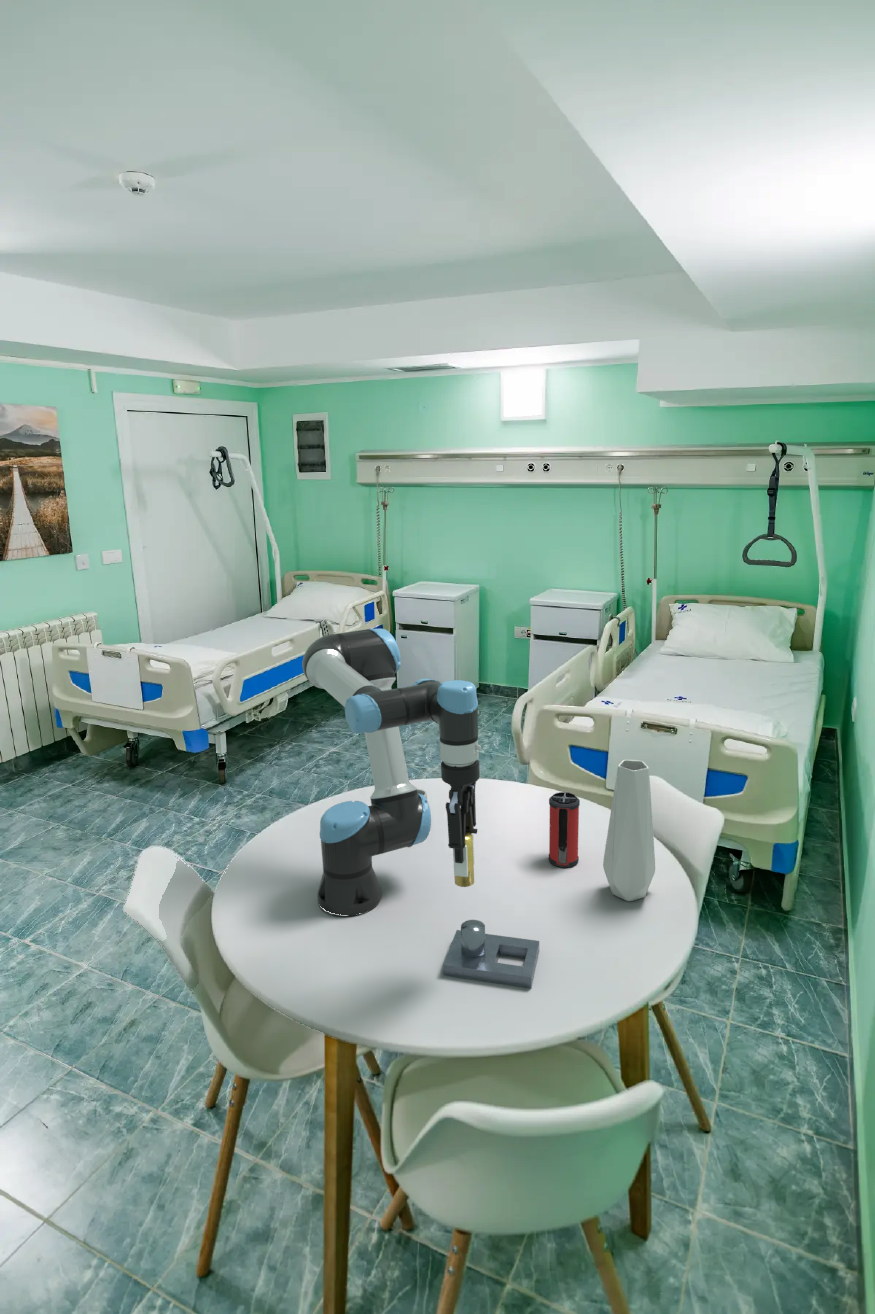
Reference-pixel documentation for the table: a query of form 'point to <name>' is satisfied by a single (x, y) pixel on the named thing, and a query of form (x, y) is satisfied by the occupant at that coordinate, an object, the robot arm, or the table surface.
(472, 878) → the round pin
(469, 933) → the gray peg plate
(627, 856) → the vase
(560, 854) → the speaker
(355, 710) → the robot arm
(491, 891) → the table surface
